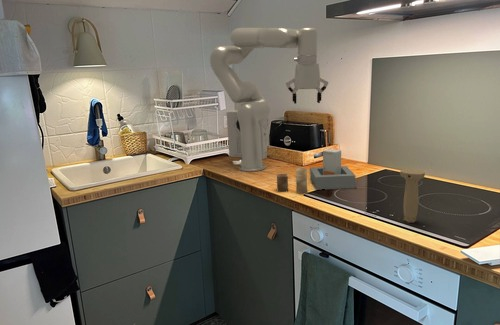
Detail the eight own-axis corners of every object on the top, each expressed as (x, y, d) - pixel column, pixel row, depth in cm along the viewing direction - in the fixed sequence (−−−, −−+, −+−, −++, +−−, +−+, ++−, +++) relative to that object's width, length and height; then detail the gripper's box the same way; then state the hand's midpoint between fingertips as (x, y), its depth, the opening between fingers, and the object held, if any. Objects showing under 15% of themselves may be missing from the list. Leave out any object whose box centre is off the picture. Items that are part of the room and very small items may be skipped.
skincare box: (322, 179, 152) (322, 150, 149) (328, 177, 155) (328, 148, 152) (335, 182, 148) (335, 152, 145) (341, 179, 150) (341, 150, 148)
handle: (402, 216, 115) (404, 168, 111) (424, 220, 111) (427, 171, 107) (395, 221, 111) (397, 172, 108) (418, 226, 107) (421, 175, 104)
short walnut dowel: (277, 192, 144) (277, 176, 143) (277, 188, 148) (276, 174, 147) (288, 191, 144) (287, 176, 143) (287, 188, 148) (287, 173, 147)
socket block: (315, 189, 144) (315, 177, 143) (310, 179, 159) (310, 167, 158) (355, 188, 144) (355, 175, 143) (346, 177, 158) (346, 165, 157)
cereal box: (270, 156, 205) (268, 110, 200) (263, 159, 199) (261, 111, 193) (236, 153, 216) (233, 110, 210) (229, 156, 210) (226, 111, 204)
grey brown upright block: (297, 194, 141) (296, 170, 138) (295, 190, 144) (295, 168, 142) (307, 193, 140) (307, 170, 138) (306, 190, 144) (306, 167, 142)
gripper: (286, 60, 149) (286, 104, 154) (330, 59, 149) (329, 103, 153) (285, 61, 157) (285, 102, 161) (327, 59, 156) (326, 101, 160)
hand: (306, 103), depth 157 cm, fingers open, 9 cm apart
